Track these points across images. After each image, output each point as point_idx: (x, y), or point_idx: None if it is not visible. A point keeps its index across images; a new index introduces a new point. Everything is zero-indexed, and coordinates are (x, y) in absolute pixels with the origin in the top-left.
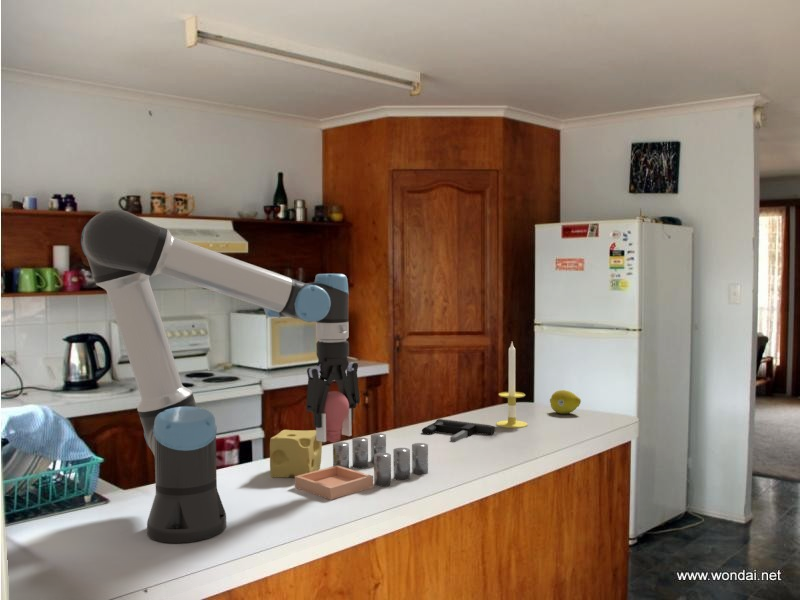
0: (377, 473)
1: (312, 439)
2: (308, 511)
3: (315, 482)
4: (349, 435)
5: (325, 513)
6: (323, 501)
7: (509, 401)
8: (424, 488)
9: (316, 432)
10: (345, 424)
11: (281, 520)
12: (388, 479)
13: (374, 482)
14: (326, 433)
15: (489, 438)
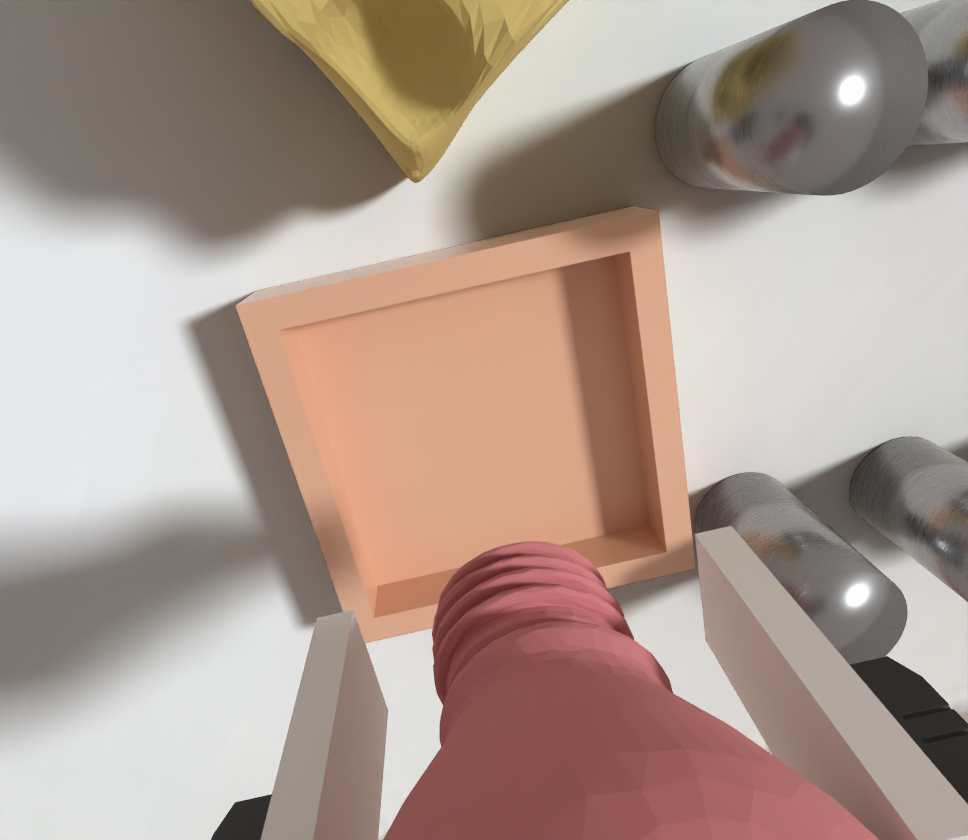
0: None
1: (532, 29)
2: (188, 690)
3: (318, 511)
4: (711, 645)
5: (255, 743)
6: (316, 604)
7: None
8: None
9: (302, 690)
10: (758, 684)
11: (24, 733)
12: None
13: (704, 513)
14: (436, 685)
15: None
